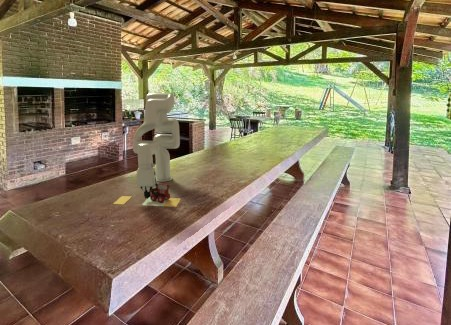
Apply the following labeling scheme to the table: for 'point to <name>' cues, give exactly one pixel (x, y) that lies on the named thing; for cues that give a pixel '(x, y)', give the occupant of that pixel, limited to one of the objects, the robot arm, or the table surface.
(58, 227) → the table surface
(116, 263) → the table surface
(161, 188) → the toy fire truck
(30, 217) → the table surface
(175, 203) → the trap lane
